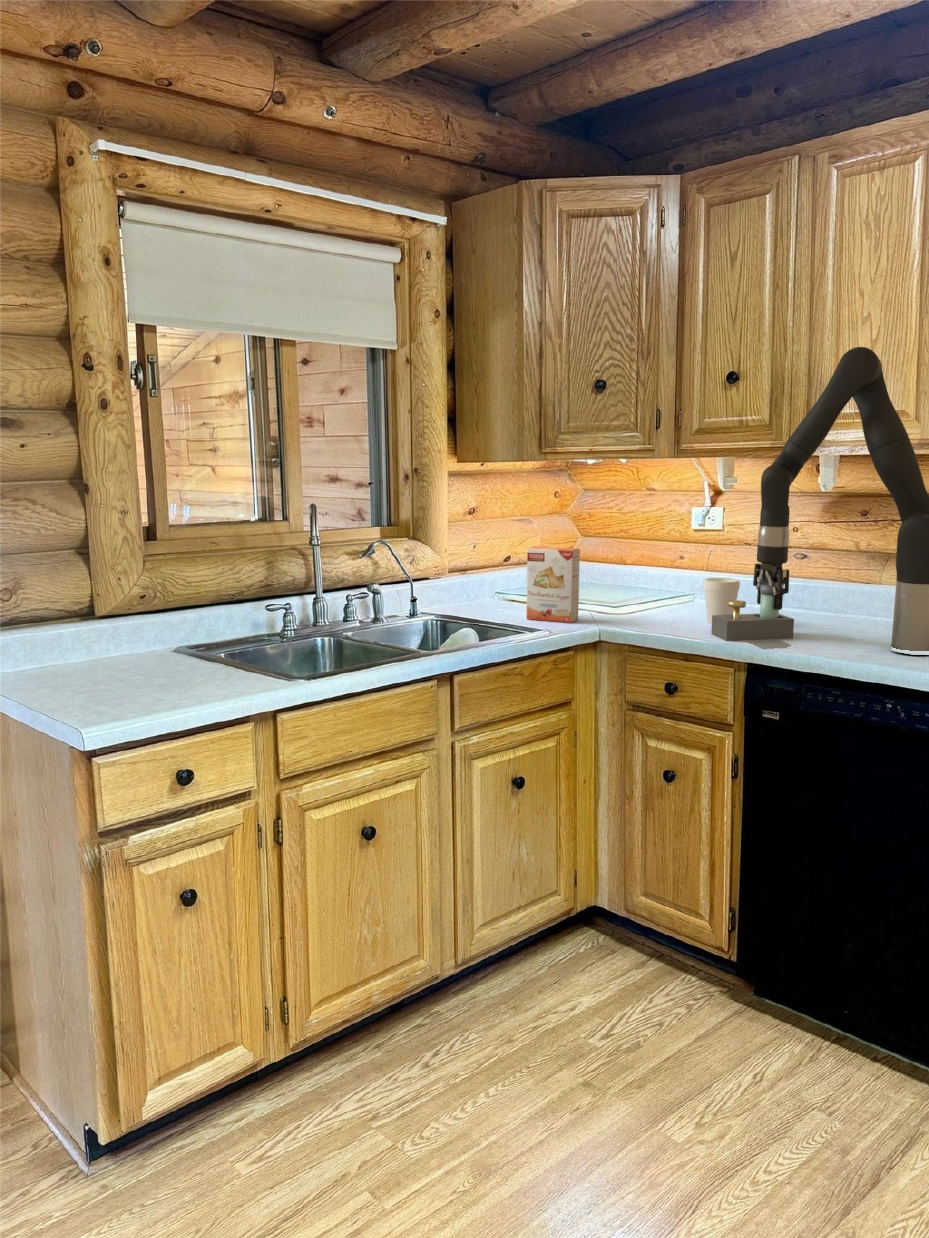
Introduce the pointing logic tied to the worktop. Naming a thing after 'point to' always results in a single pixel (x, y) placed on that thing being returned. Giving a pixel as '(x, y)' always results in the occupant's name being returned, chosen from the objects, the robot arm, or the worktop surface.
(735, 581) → the foam cup
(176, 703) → the worktop surface
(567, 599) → the cracker box
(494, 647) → the worktop surface
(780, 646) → the slate mat
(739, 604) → the brass plunger
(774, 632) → the block
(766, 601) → the cylinder
